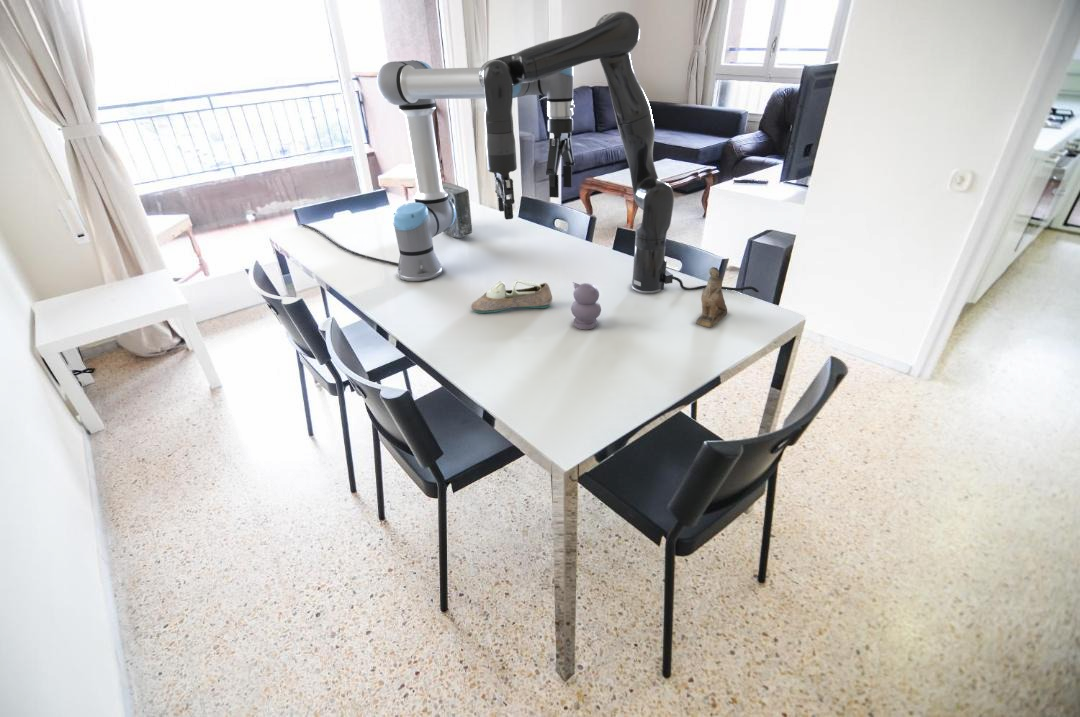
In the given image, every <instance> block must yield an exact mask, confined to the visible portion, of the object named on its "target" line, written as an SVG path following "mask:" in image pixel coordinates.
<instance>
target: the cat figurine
mask: <svg viewBox="0 0 1080 717" xmlns="http://www.w3.org/2000/svg"><path fill="white" fill-rule="evenodd" d="M572 284H573V288H574V290H573V298H574V301H573V302H572V304H571V306H570V312H571V314H572V316H573V317H574V318H573V326H574V327H575V328H577V329H578V330H579V329H580V330H585V331H586V330H592V329H594V328H596V327H597V324H598V319H597V318H598V317H600V315H601V312H602V307H601V304H600V303H599V302H598V300H599V298H600V291H599V290H598V287H596V286H595V285H593V284H591V283H589V282H588V283H587V282H583V283H580V284H579V283H577V282H575V281H573V282H572Z"/></svg>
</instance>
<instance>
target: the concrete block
mask: <svg viewBox="0 0 1080 717" xmlns="http://www.w3.org/2000/svg"><path fill="white" fill-rule="evenodd" d="M441 182H442V189H443V190H444V191H445V192H446V193H447V194H448V199H450V200H451V202H452V203H453V204H454V206H455V210H456V218H455V221H454V223H453V225H452V226H451V227H449V228H448V229H447V230H446V231H444V232H443V233H444V234H446V235H448V236H449V237H452V238H464V237H465V236H468V235H471V234H472V233H473V223H472V214H471V203H470V193H469V189H467V188H465V187H463V186H460V185H458V184H454V183H452V182H447V181H442V180H441Z"/></svg>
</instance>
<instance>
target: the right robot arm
mask: <svg viewBox="0 0 1080 717" xmlns="http://www.w3.org/2000/svg"><path fill="white" fill-rule="evenodd" d="M640 35H641V27H640V24H639V22H638V20H637V17H635V16H634V15H633V14H631V13H630V12H627V11H619V10H618V11H614V12H610V13H606V14H604V15H602V16H601V17H600V18H599V19H598V20H597V21H596V23H595V25H594V26H592V28H589V29H586V30H584V31H581V32H578V33H574V34H572V35H568V36H563V37H560V38H555V39H551V40H547V41H544V42H540V43H538V44H535V45H532V46H529V47H526V48H524V49H521V50H519V51H517V52H516V53H511V54H508V55H503V56H500V57H496V58H494V59H489V60H487V61H486V62H484V63H483V64H482V65H481V66H480V68H481V69H480V71H479V81H480V84H481V86H482V87H483V88H484V90H485V99H484V102H485V108H484V112H483V113H484V115H483V120H484V129H485V153H486V162H487V171H488V172H489V173H492V174H493V177H494V192H495V194H496V195H495V196H496V197H497V204H498V206H497V207H498V211H499V212H503V215H504V216H503V217H504V219H505V220H513V219H514V208H513V205H514V204H515V202H516V201H515V192H514V180H513V179H512V178H511V177H510V173H512V172H515V171H516V170H517V169H518V166H517V149H516V138H515V132H514V118H513V100H514V98H513V86H516V85H518V84H521V83H529V82H533V81H536V80H539V79H542V78H545V77H548V76H550V75H553V74H556V73H558V72H561V71H563V70H566V69H568V68H571V67H573V68H574V67H576V66H579V65H582V64H585V63H588V62H592V61H595V60H599V62H600V65H601V67H602V70H603V72H604V76H605V79H606V82H607V87H608V89H609V91H608V92H609V95H610V101H611V104H612V108H613V112H614V116H615V121H616V125H617V129H618V133H619V137H620V141H621V143H622V147H623V151H624V155H625V158H626V161H627V164H628V168H629V173H630V174H629V175H630V180H631V188H632V194H633V198H634V199H633V200H634V202H635V204H636V205H637V207H639V209H641V210H642V218H641V223H639V224H637V225H636V227H635V235H634V236H635V237H634V250H633V251H634V252H633V265H632V266H633V268H632V280H631V289H632V290H633V291H634V292H636V293H639V294H645V295H650V294H657V293H659V292H661V291H662V290H665V285H667V284H673V280H675V281H677V282H678V283H679V286H680V288H681V289H683V290H684V291H697V290H702V289H704V288H705V287H707V284H705V285H699V286H695V287H686V286H684V283H683V281H682V279H680V278H679V277H678V276H677V277H676V276H674V274H673V273H671V272H670V271H669V270H668V269H667V262H668V261H667V260H666V259H665V254H666V245H667V234H668V231H669V228H670V227H671V224H672V218H673V211H674V202H675V194H674V190H673V188H672V187H671V185H669V183H666V182H664V181H663V180H660V179H659V176H658V173H657V171H656V166H655V163H654V144H655V136H656V134H655V133H656V131H655V129H656V128H655V123H654V119H653V114H652V109H651V106H650V102H649V99H648V98H647V96H646V94H645V92H644V89H643V87H642V86H641V84H640V82H639V80H638V79H637V77H636V74H635V70H634V69H633V65H632V60H631V54H630V53H631V52H632V51H633V50H634V49H635V47H636V46H637V44H638V43H639V39H640ZM721 289H722V290H725V291H733V292H734V291H735V292H740V291H745V290H746V291H747V290H752V291H754V292H755V293H759V292H760V291H759V289H757V288H756V287H755V286H752V285H749V286H748V285H747V286H742V287H731V286H723V285H722V288H721ZM726 289H727V290H726Z"/></svg>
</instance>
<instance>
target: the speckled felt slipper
mask: <svg viewBox="0 0 1080 717" xmlns="http://www.w3.org/2000/svg"><path fill="white" fill-rule="evenodd" d="M518 283H520V284H522V285H526V286H529V287H527V288H521V289H516V287H517V284H518ZM550 288H551V287H550V285H549V284H548V283H547V282H543V283H540V284H539V283H536V282H533V281H529V280H515V282H514V285H513V287H512V289H507V288H506V284H505V282H504V281H502V280H500V281H499V282H497V283H496V284H495V285H494V286H492V287H491V288H490V289H488V290H487V291H486V292H485V293H484V294H483V295H481V296H480V297H479V298H477V299H476V300H475V301H473V302H472V303H471V304H470V308H471V309H472V310H473V312H475V313H478V314H479V313H480V314H481V313H487V314H488V313H495V312H502V311H505V310H507V309H510V308H532V309H533V308H534V309H545V308H548V307H550V305H551V304H552V302H553V295H552V291H551V289H550Z"/></svg>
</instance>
